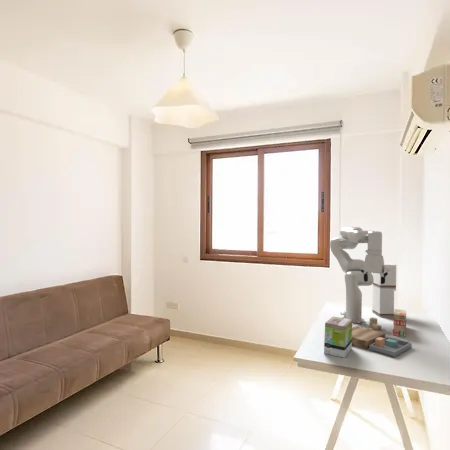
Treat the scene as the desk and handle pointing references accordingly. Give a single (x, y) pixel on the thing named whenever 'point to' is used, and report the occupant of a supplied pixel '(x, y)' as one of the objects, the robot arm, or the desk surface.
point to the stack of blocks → (399, 323)
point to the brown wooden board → (364, 337)
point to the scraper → (374, 324)
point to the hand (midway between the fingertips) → (374, 282)
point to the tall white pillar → (384, 293)
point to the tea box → (338, 336)
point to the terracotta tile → (380, 342)
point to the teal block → (391, 343)
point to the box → (392, 351)
